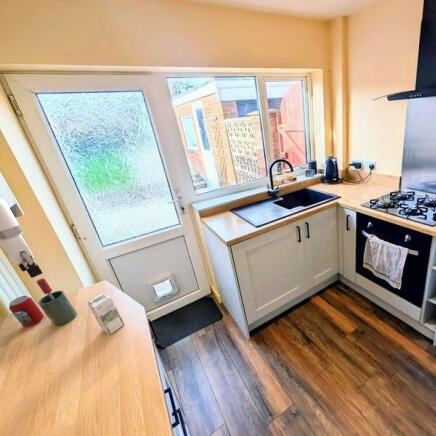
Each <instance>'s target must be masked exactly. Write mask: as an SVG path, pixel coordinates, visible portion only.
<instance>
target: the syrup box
mask: <svg viewBox="0 0 436 436" xmlns="http://www.w3.org/2000/svg"><path fill="white" fill-rule="evenodd" d="M87 306H88V307H89V309H90V311H91V313H92V314H93V316H94V317H95V319H96V321H97V323H98V325H99V326H100V328H101V330H102V331H103V332H105V333H106V334H108V336H111V335H113V334H114V333H115V332H117V331H118V330H120V329H121V328H122V327H123V326H125V322H124V320H123V319H122V316H121V314H120V312H119V311H118V309H117V307H116V305H115V303H114V301H113V299H112V297H110V296H108V295H107V294H105V293H102V294H100V295H98V296H96V297H94V298H93V299H91V300H90V301H88V302H87Z"/></svg>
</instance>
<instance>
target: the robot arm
mask: <svg viewBox="0 0 436 436" xmlns="http://www.w3.org/2000/svg"><path fill="white" fill-rule="evenodd" d="M24 233H25V232H24V230H23V227H21V225H20V223H19V222H18V219H17V218H16V217H15V215H14V214H13V212H12V210H11V208H10V207H9V205H8V203H7V202H6V201H5V200H4V198H2V197H0V247H1V248H2V250H3V251H4V253H5V254H6V256H7V258H8V259H9V261H10V262H12V263H13V264H14V265H16V266H18V268H19V269H20V270H21V271H22V272H27V274H28V275H29V278H32V279H33V278H37V277H39V276H40V275H42V274H43V271H42V269H41V268H40V266H39V265H38V263H37V262H36V261H35V260H34V259H35V256H34V254H33V252H32V250H31V249H30V247H29V245H28V244H27V242H26V241H25V239H24V238H23V236H22V235H23V234H24Z"/></svg>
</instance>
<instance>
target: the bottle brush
mask: <svg viewBox="0 0 436 436" xmlns="http://www.w3.org/2000/svg"><path fill="white" fill-rule="evenodd" d="M35 283H36V284H37V285H38V287H39V288H40V290H41V291H42V293H43V295H49V296H50V298H51V299H52V301H53V300H55V299H54V297H53V296H52V294H51V293H53V289H52V288H51V286H50V284H49V283H48V282H47V280H46V278H44V277H43V278H39V279H38V280H36V282H35Z"/></svg>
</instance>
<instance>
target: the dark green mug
mask: <svg viewBox="0 0 436 436" xmlns="http://www.w3.org/2000/svg"><path fill="white" fill-rule="evenodd" d="M50 293H51V294H52V296H53V297H54V299H55V300H53V301H52V299H51V298H50V296H49V295H48V294H45V295H44V296H43V297H41V299H40V300H39V301H38V303H37V304H38V305H39V308H41V309H42V311H43V312H44V314H45V315H46V316H47V318H48V319H49V321H50V322H51V324H52V325H53V326H54V327H62V326H64V325H65V326H66V325H67V324H69V323H70V322H72V321H74V319H75V318H76V317H77V316H78V312H77V310H76V309H75V307H74V305H73V304H72V302H71V301H70V299H69V298H68V296H67V295H66V293H65V291H63V290H56V291H52V292H50Z"/></svg>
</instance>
